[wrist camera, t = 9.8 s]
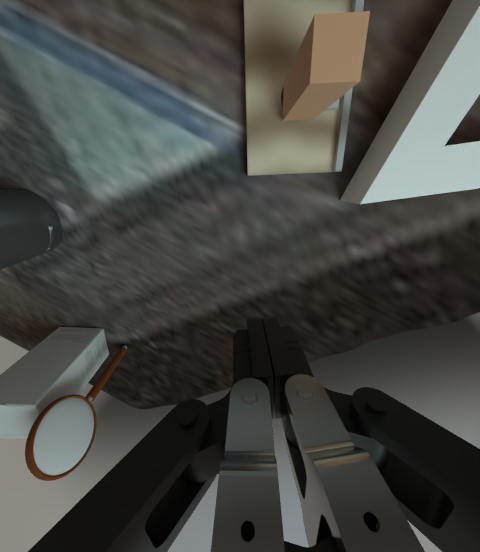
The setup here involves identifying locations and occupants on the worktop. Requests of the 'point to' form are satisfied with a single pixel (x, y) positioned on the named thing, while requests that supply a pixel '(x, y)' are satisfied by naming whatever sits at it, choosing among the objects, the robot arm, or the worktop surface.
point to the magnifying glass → (65, 431)
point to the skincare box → (48, 376)
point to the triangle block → (428, 120)
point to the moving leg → (325, 64)
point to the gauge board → (270, 85)
